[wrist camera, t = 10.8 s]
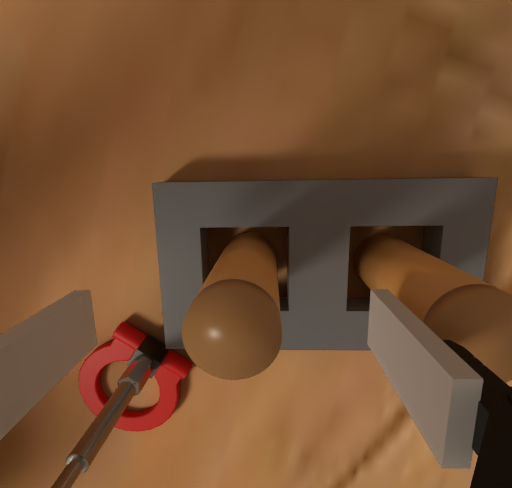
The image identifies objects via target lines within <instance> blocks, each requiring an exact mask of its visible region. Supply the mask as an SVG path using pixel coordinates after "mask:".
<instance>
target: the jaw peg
mask: <svg viewBox="0 0 512 488" xmlns="http://www.w3.org/2000/svg"><path fill="white" fill-rule="evenodd" d="M182 339H183V344H184V347H185V349H186V351H187V353H188V355H189V357H190V358H191V359H192V361H193V362H194V363H195V364H196V365H197V366H198V367H199V368H201V369H202V370H203V371H205V372H207V373H209V374H210V375H213V376H215V377H218V378H222V379H229V380H238V379H245V378H249V377H252V376H255V375H257V374H259V373H261V372H262V371H263V370H265V369H266V368H267V367H268V366H270V364H271V363H272V362H273V361H274V359H275V358H276V356H277V354H278V352H279V350H280V347H281V342H282V325H281V313H280V301H279V289H278V277H277V265H276V254H275V250H274V247H273V245H272V244H271V242H270V241H269V240H268V239H267V238H265V237H264V236H262V235H260V234H258V233H254V232H245V233H241V234H238V235H236V236H235V237H233V238H232V239H231V240H230V241H229V242H228V244H227V245H226V247H225V249H224V250H223V252H222V254H221V255H220V257H219V259H218V260H217V262H216V264H215V265H214V267H213V269H212V270H211V272H210V274H209V275H208V277H207V279H206V280H205V282H204V284H203V285H202V287H201V289H200V290H199V292H198V294H197V295H196V297H195V299H194V301H193V302H192V304H191V306H190V307H189V309H188V311H187V313H186V314H185V317H184V320H183V324H182Z"/></svg>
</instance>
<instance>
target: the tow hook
mask: <svg viewBox="0 0 512 488" xmlns="http://www.w3.org/2000/svg"><path fill="white" fill-rule="evenodd" d="M112 337H114V340H113V341H112V342H108V343H106V344H104V345H102V346H100V347H98V348H97V349H96V350H95V351H94V352H93V353H92V354H91V355H90V356H89V357H88V358H87V359H86V360H85V361H84V363H83V365H82V367H81V369H80V374H79V388H80V393H81V395H82V397H83V400H84V402H85V404H86V405H87V406H88V408H89V409H90V410H91V412H92V413H93V414H95V415H96V416H97V417H96V418H95V419H94V421H93V422H92V424H91V425H90V426H89V428H88V429H87V431H86V432H85V433H84V435H83V436H82V438H81V439H80V440H79V442H78V443H77V444H76V446H75V447H74V449H73V450H72V451H71V453H70V454H69V456H68V457H67V459H66V465H67V466H66V467H65V468H64V470H63V471H62V473H61V474H60V475H59V477H58V478H57V480H56V481H55V483H54V484H53V485H52V487H51V488H71V487H72V485H73V484H74V482H75V480H76V479H77V477H78V476H79V474H80V473H83V472H85V471H87V469H88V468H89V466H90V465H91V463H92V461H93V460H94V458H95V457H96V455H97V453H98V452H99V450H100V449H101V447H102V445H103V444H104V442H105V441H106V439H107V437H108V436H109V434H110V433H111V431H112V429H113V428H114V427H115V428H119V429H122V430H126V431H138V432H139V431H145V430H151V429H153V428H155V427H157V426H160V425H161V424H163V423H164V422H165V421H166V420H167V419H169V418H170V416H171V415H172V413H173V411H174V410H175V408H176V406H177V403H178V399H179V396H180V382H179V381H180V380H181V378H182V379H184V378H185V377H186V376H187V374H188V372H189V371H190V369H191V367H192V364H193V363H191V362H190V361H188V360H186V359H185V358H183V357H182V356H180V355H178V354H177V353H175V352H173V351H172V350H170V349H166V346H165V345H164V344H163V343H161V342H160V341H158V340H156V339H155V338H153V337H151V336H150V335H145V334H144V333H142V332H140V331H139V330H137V329H136V328H134V327H132V326H131V325H129V324H127V323H126V322H124V321H123V322H122V323H121V324H120V325H119V326H118V327H117V328H116V330H115V331H114V333H113V336H112ZM120 360H122V361H128V360H129V362H128V365H129V366H128V368H127V369H126V371H125V372H124V373H123V375H122V376H121V377H120V379H119V380H118V388H117V389H116V390H115V392H114V393H113V394H112V396H111V397H110V399H109V400H108V398H107V397H106V396H105V394H104V393H103V390H102V388H101V384H100V375H101V371H102V369H103V368H104V367H105V366H106V365H108V364H110V363H112V362H115V361H120ZM153 375H155V378H156V380H157V382H158V385H159V387H160V398H159V401H158V403H157V404H155V405H154V406H153V407H152V408H150V409H147V410H144V411H139V412H136V411H128V410H125V409H126V407H127V406H128V404H129V402H130V401H131V399H132V398H133V396H135V395H137V394H139V393H140V391H141V390H142V388H143V387H144V385H145V383H146V382H147V380H148V378H152V377H153Z"/></svg>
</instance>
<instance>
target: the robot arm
mask: <svg viewBox="0 0 512 488" xmlns="http://www.w3.org/2000/svg"><path fill="white" fill-rule="evenodd" d="M96 344H97V337H96V329H95V322H94V314H93V307H92V299H91V291H90V290H74V291H73V292H71V293H69V294H68V295H66V296H64V297H63V298H61V299H59V300H58V301H56V302H54V303H53V304H51V305H49V306H48V307H46V308H44V309H43V310H41V311H39V312H38V313H36V314H34V315H33V316H31V317H29V318H28V319H26V320H24V321H23V322H21V323H19V324H18V325H16V326H14V327H13V328H11V329H9V330H8V331H6V332H4V333H3V334H1V335H0V440H1V439H2V438H3V437H4V436H5V435H6V434H7V433H8V432H9V431H10V430H11V429H12V428H13V427H14V426H15V425H16V424H17V423H18V422H19V421H20V420H21V419H22V418H23V417H24V416H25V415H26V414H27V413H28V412H29V411H30V410H31V409H32V408H33V407H34V406H35V405H36V404H37V403H38V402H39V401H40V400H41V399H42V398H43V397H44V396H45V395H46V394H47V393H48V392H49V391H50V390H51V389H52V388H53V387H54V386H55V385H56V384H57V383H58V382H59V381H60V380H61V379H62V378H63V377H64V376H65V375H66V374H67V373H68V372H69V371H70V370H71V369H72V368H73V367H74V366H75V365H76V364H77V363H78V362H79V361H80V360H81V359H82V358H83V357H84V356H85V355H86V354H87V353H88V352H89V351H90V350H91V349H92V348H93V347H94V346H95V345H96ZM367 344H368V346H369V348H370V349H371V351H372V353H373V354H374V356H375V358H376V359H377V361H378V363H379V364H380V366H381V368H382V369H383V371H384V373H385V374H386V376H387V378H388V379H389V381H390V383H391V384H392V386H393V388H394V389H395V391H396V393H397V394H398V396H399V398H400V399H401V401H402V403H403V404H404V406H405V408H406V409H407V411H408V413H409V414H410V416H411V418H412V419H413V421H414V423H415V424H416V426H417V428H418V429H419V431H420V433H421V434H422V436H423V438H424V439H425V441H426V443H427V444H428V446H429V448H430V449H431V451H432V453H433V454H434V456H435V458H436V459H437V461H438V463H439V464H440V466H441V468H470V466H471V460H472V453H473V450H474V451H475V453H476V454H477V455H478V459H477V463H476V467H475V470H474V474H473V478H472V482H471V486H470V488H512V387H510V386H508V385H507V384H506V383H505V382H504V381H503V380H502V379H500V378H499V377H498V376H497V375H496V374H495V373H493V372H492V371H491V370H490V369H489V368H488V367H487V366H485V365H483V363H482V362H481V361H480V360H478V359H477V358H475V357H474V355H473V354H472V353H470V352H469V351H468V350H467V349H466V348H465V347H463V346H461V345H459V344H457V343H455V342H453V341H451V340H441V339H440V338H439V337H438V336H437V335H436V334H435V333H434V332H433V331H432V330H431V329H429V328H428V327H427V326H426V325H425V324H424V323H423V322H422V321H421V320H420V319H419V318H418V317H417V316H416V315H415V314H413V313H412V312H411V311H410V310H409V309H408V308H407V307H406V306H405V305H404V304H403V303H402V302H401V301H400V300H399V299H397V298H396V297H395V296H394V295H393V294H392V293H391V292H390V291H389V290H388V289H371V292H370V308H369V324H368V340H367Z"/></svg>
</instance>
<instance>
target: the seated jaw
mask: <svg viewBox="0 0 512 488" xmlns="http://www.w3.org/2000/svg"><path fill="white" fill-rule="evenodd" d="M354 268H355V271H356V273H357V274H358V276H359V277H360V278H361V279H362V280H363V282H364V283H365V284H366V285H367V286H368V287H369V288H370V290H371V289H388V290H389V291H390V292H391V293H392V294H393V295H394V296H395V297H396V298H397V299H399V300H400V301H401V302H402V303H403V304H404V305H405V306H406V307H407V308H408V309H409V310H410V311H411V312H412V313H413V314H415V315H416V316H417V317H418V318H419V319H420V320H421V321H422V322H423V323H424V324H425V325H426V326H427V327H428V328H429V329H431V330H432V331H433V332H434V333H435V334H436V335H437V336H438V337H439V338H440V339H441V340H451V341H453V342H455V343H457V344H459V345H461V346H463V347H465V348H466V349H467V350H468V351H469V352H470V353H472V354H473V355H474V357H475V358H477V359H478V360H480V361H481V362H482V363H483V365H485V366H487V367H488V368H489V369H490V370H491V371H492V372H493V373H495V374H496V375H497V376H498V377H499V378H500V379H502V380H503V381H504V382H505V383H506V382H508V381H510V380H512V295H510V294H508V293H506V292H504V291H502V290H500V289H498V288H496V287H494V286H492V285H490V284H488V283H486V282H484V281H482V280H480V279H478V278H476V277H474V276H472V275H470V274H468V273H466V272H464V271H462V270H460V269H458V268H456V267H454V266H452V265H450V264H448V263H446V262H444V261H442V260H440V259H438V258H436V257H434V256H432V255H430V254H428V253H426V252H424V251H422V250H420V249H418V248H416V247H414V246H412V245H410V244H408V243H406V242H404V241H402V240H400V239H398V238H396V237H394V236H392V235H388V234H378V235H374V236H371V237H369V238H367V239H366V240H364V241H363V242H362V243H361V244H360V245H359V247H358V248H357V250H356V252H355V255H354Z"/></svg>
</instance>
